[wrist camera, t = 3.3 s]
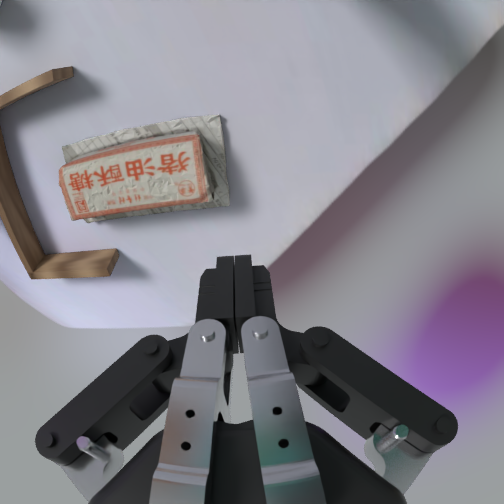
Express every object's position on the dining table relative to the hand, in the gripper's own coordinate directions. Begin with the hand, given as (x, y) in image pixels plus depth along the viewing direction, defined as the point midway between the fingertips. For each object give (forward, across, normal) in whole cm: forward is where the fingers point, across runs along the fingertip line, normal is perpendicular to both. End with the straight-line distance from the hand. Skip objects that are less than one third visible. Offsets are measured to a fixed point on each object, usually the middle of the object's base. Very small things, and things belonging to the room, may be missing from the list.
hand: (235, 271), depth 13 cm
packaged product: (+19, +10, +1) cm, 22 cm away
